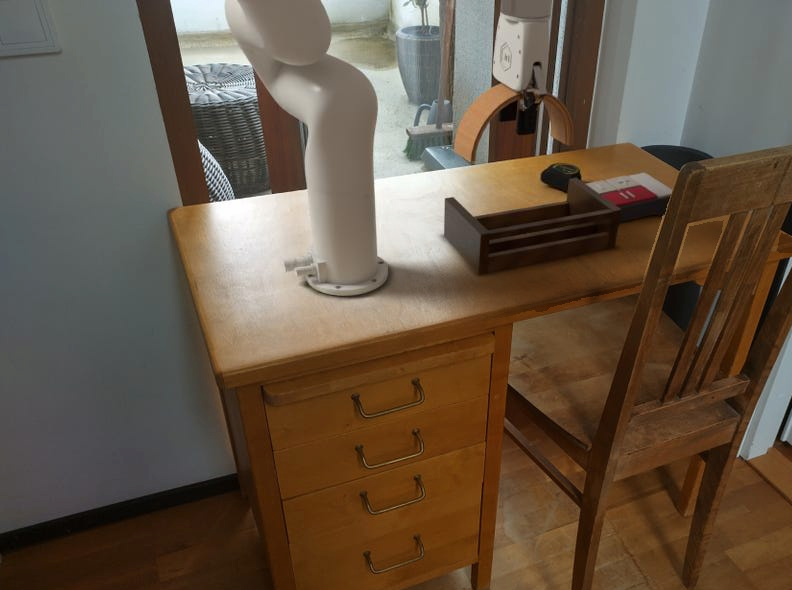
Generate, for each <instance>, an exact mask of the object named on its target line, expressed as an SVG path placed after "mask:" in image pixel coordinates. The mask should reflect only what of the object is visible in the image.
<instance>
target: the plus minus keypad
mask: <svg viewBox="0 0 792 590" xmlns="http://www.w3.org/2000/svg"><path fill="white" fill-rule="evenodd" d="M585 184H586V185H588V186H589V187H590V188H592V189H593V190H595V191H596V192H597V193H599V194H600V195H602V196H603V197H605V198H606V199H607V200H609V201H610V202H612V203H613V204H614V205H616V206H617V207H619V208H620V209H621V216H620V221H619V223H623V222H627V221H632V220H636V219H640V218H645V217H649V216H653V215H656V216H659V217H661V216H662V217H663V216H666V215H665V212H666V208H667V204H668V202H669V199H670V196H671V193H672V190H673V189H671V188H670V187H668V185H665V184H664V183H662V182H660V181H659V180H657V179H656V178H654V177H652V176H651V175H649V174H648V173H646V172H640V173H636V174H630V175H621V176H616V177H611V178H607V179H606V180H604V179H603V180H597V181H593V182H588V183H585Z"/></svg>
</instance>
